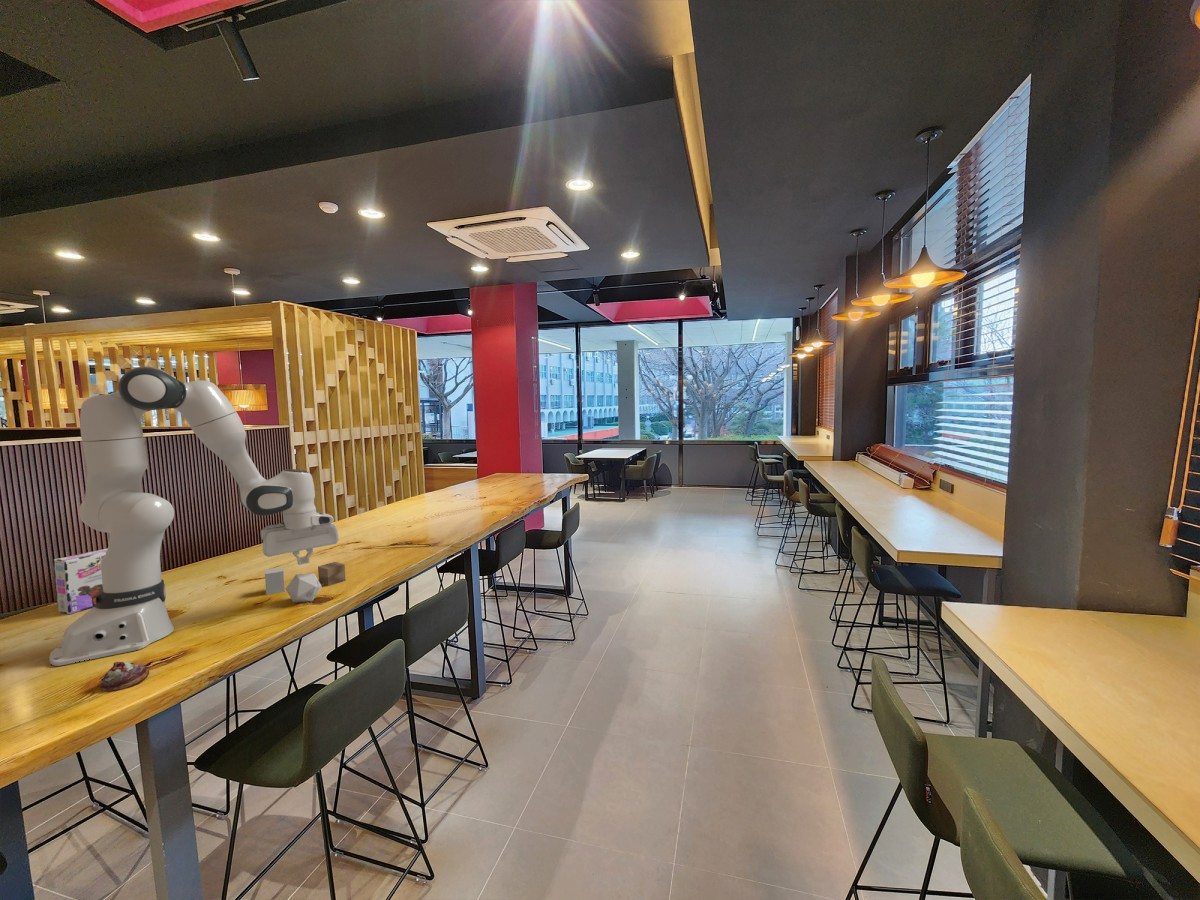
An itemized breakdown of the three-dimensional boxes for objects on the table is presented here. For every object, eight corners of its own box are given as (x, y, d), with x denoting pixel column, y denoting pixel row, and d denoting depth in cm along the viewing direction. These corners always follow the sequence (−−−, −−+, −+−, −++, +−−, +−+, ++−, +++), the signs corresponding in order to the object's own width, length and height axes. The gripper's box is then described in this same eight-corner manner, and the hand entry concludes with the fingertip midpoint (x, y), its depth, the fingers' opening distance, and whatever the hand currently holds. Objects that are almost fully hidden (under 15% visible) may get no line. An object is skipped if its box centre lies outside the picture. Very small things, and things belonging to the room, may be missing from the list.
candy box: (69, 615, 142) (63, 560, 140) (57, 612, 143) (52, 559, 142) (127, 597, 155) (123, 548, 153) (116, 595, 156) (111, 546, 155)
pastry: (90, 690, 103) (88, 668, 102) (130, 672, 110) (128, 651, 110) (120, 694, 101) (118, 671, 101) (159, 675, 109) (157, 653, 108)
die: (300, 609, 145) (321, 579, 149) (274, 595, 145) (296, 565, 148) (311, 609, 153) (331, 580, 157) (286, 595, 153) (307, 567, 156)
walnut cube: (328, 586, 163) (327, 569, 163) (318, 583, 166) (317, 566, 166) (345, 580, 168) (344, 564, 168) (335, 578, 171) (335, 561, 171)
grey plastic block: (266, 595, 156) (264, 574, 155) (266, 590, 160) (265, 570, 159) (284, 591, 159) (283, 571, 158) (284, 587, 163) (283, 567, 162)
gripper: (262, 528, 140) (265, 574, 141) (338, 516, 154) (341, 558, 155) (258, 524, 144) (261, 569, 146) (333, 513, 158) (335, 554, 160)
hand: (303, 563), depth 150 cm, fingers closed
